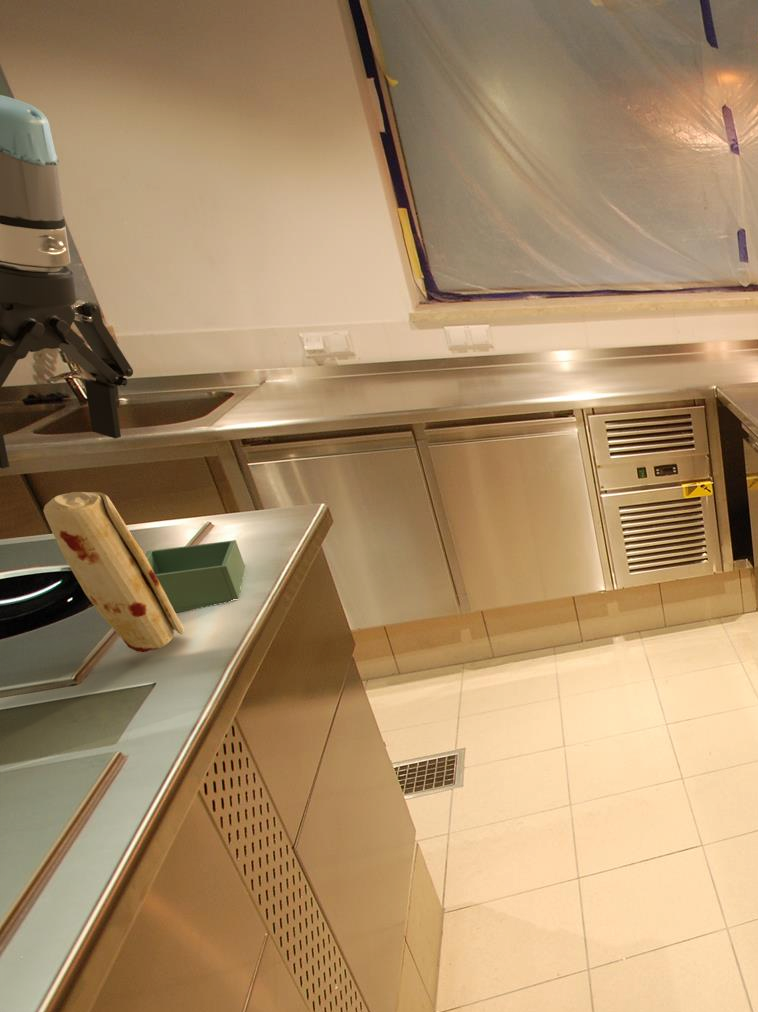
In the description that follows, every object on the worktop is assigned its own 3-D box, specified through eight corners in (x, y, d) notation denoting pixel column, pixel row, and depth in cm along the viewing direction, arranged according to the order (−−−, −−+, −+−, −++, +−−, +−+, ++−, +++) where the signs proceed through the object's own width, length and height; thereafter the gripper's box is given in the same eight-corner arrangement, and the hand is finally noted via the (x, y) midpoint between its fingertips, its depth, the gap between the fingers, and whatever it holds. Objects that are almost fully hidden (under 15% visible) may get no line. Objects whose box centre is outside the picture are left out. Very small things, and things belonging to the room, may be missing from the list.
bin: (145, 617, 114) (129, 579, 112) (161, 586, 124) (147, 550, 122) (239, 602, 120) (226, 566, 117) (248, 574, 130) (235, 539, 127)
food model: (122, 635, 109) (33, 490, 98) (187, 619, 113) (108, 477, 102) (122, 666, 102) (28, 515, 92) (191, 647, 106) (108, 500, 96)
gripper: (-71, 281, 78) (-25, 489, 87) (160, 265, 100) (177, 433, 110) (-161, 253, 77) (-105, 467, 87) (93, 243, 99) (115, 414, 109)
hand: (53, 448), depth 98 cm, fingers open, 13 cm apart
